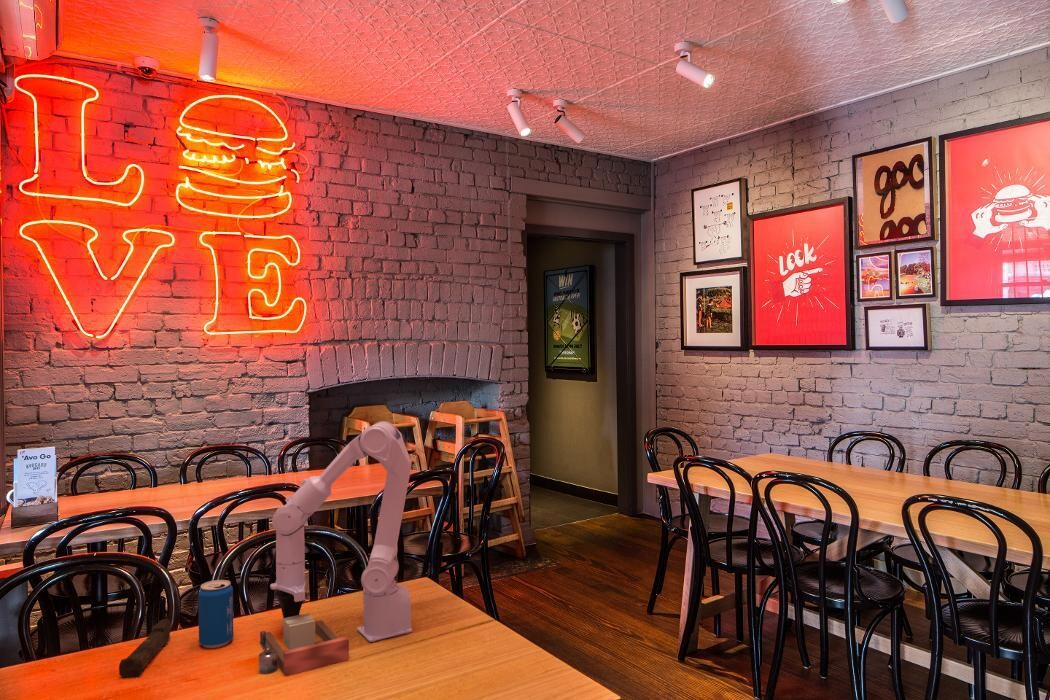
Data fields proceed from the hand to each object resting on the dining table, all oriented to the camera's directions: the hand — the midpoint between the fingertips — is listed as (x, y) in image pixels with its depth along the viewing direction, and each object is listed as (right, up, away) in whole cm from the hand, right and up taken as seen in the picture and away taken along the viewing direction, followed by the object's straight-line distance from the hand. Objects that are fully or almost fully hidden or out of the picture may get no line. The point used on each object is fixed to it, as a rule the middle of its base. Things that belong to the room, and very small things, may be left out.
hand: (291, 625), depth 147 cm
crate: (+3, -2, -5) cm, 6 cm away
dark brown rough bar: (-25, -3, -10) cm, 27 cm away
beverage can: (-14, -2, -4) cm, 15 cm away
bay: (+5, -2, -8) cm, 10 cm away
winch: (+1, -2, -15) cm, 15 cm away
